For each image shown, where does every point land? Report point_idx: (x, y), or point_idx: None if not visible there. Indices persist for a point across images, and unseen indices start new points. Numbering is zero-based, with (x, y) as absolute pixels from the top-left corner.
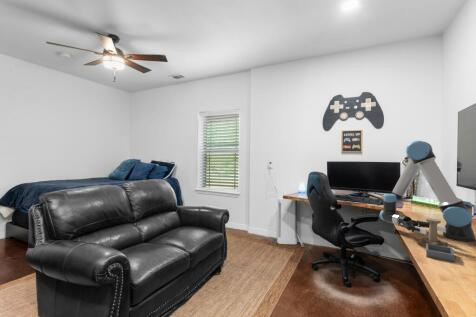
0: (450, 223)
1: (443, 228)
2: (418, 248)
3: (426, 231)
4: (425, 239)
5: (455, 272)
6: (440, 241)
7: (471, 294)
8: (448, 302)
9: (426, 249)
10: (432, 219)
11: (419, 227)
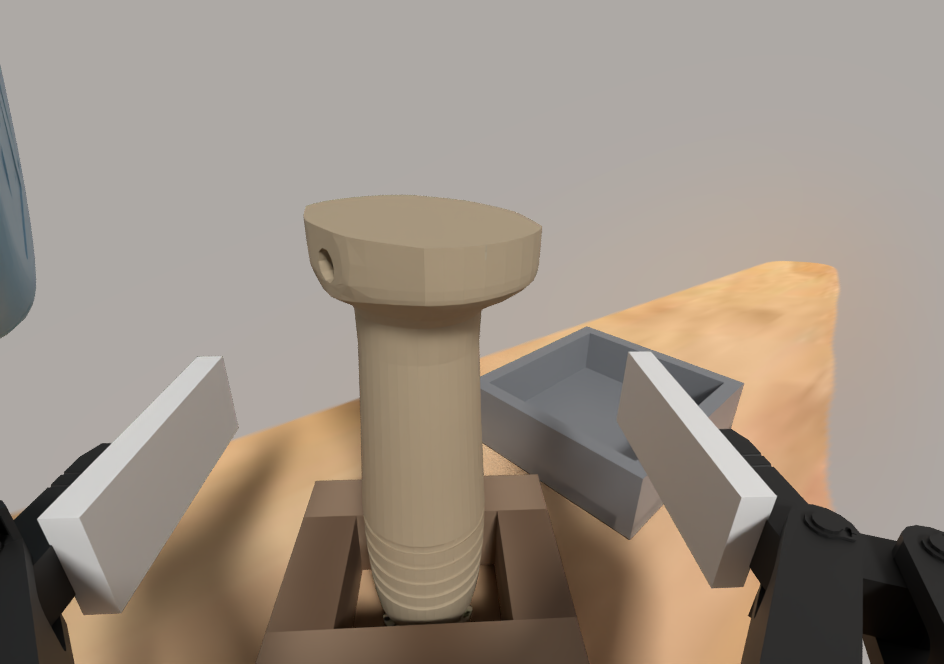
0: (26, 300)
1: (217, 384)
2: None
3: (628, 378)
4: (508, 620)
5: (669, 327)
6: (353, 524)
7: (719, 278)
8: (816, 273)
9: (723, 410)
10: (417, 219)
11: (692, 424)
